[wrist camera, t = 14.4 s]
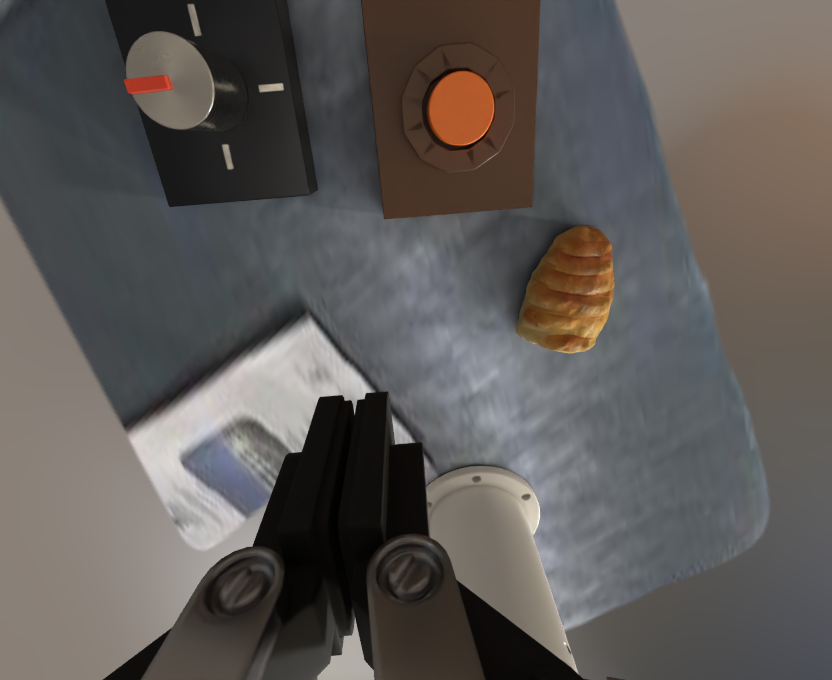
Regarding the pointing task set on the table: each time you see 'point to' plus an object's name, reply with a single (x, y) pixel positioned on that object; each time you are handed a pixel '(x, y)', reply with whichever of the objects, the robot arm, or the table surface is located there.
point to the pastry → (569, 292)
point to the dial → (184, 84)
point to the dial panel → (266, 111)
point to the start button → (460, 108)
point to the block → (416, 79)
